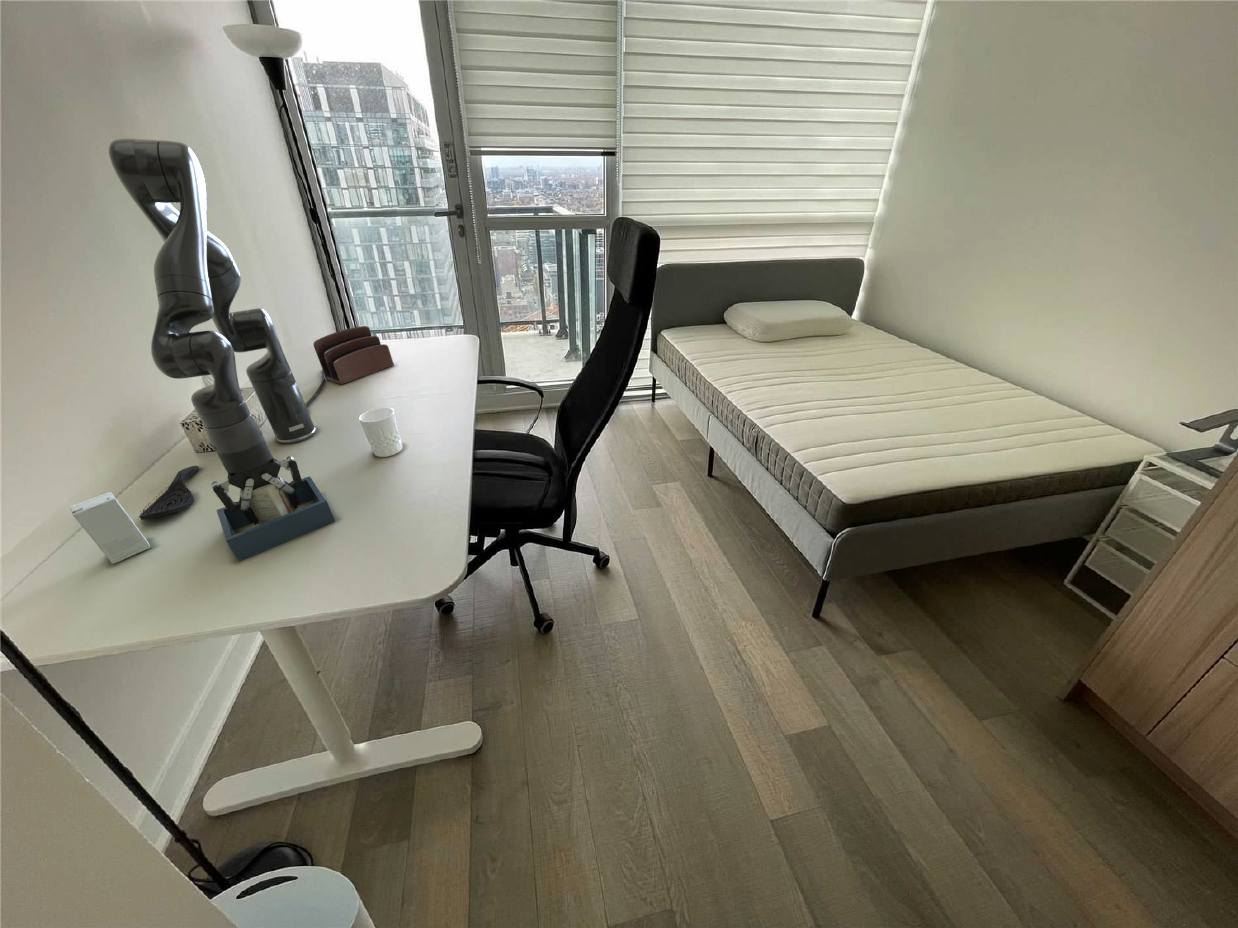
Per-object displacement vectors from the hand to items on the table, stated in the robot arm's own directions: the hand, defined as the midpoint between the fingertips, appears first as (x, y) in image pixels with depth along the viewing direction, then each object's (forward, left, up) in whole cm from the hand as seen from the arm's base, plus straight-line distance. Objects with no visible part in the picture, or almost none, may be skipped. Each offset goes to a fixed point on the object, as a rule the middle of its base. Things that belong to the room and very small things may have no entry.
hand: (276, 514), depth 102 cm
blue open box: (0, 0, -3) cm, 3 cm away
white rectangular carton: (0, 0, -3) cm, 3 cm away
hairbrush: (-30, -15, -3) cm, 34 cm away
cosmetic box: (-12, -24, -3) cm, 27 cm away
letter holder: (-78, +40, -3) cm, 88 cm away
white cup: (-15, +27, -3) cm, 31 cm away
